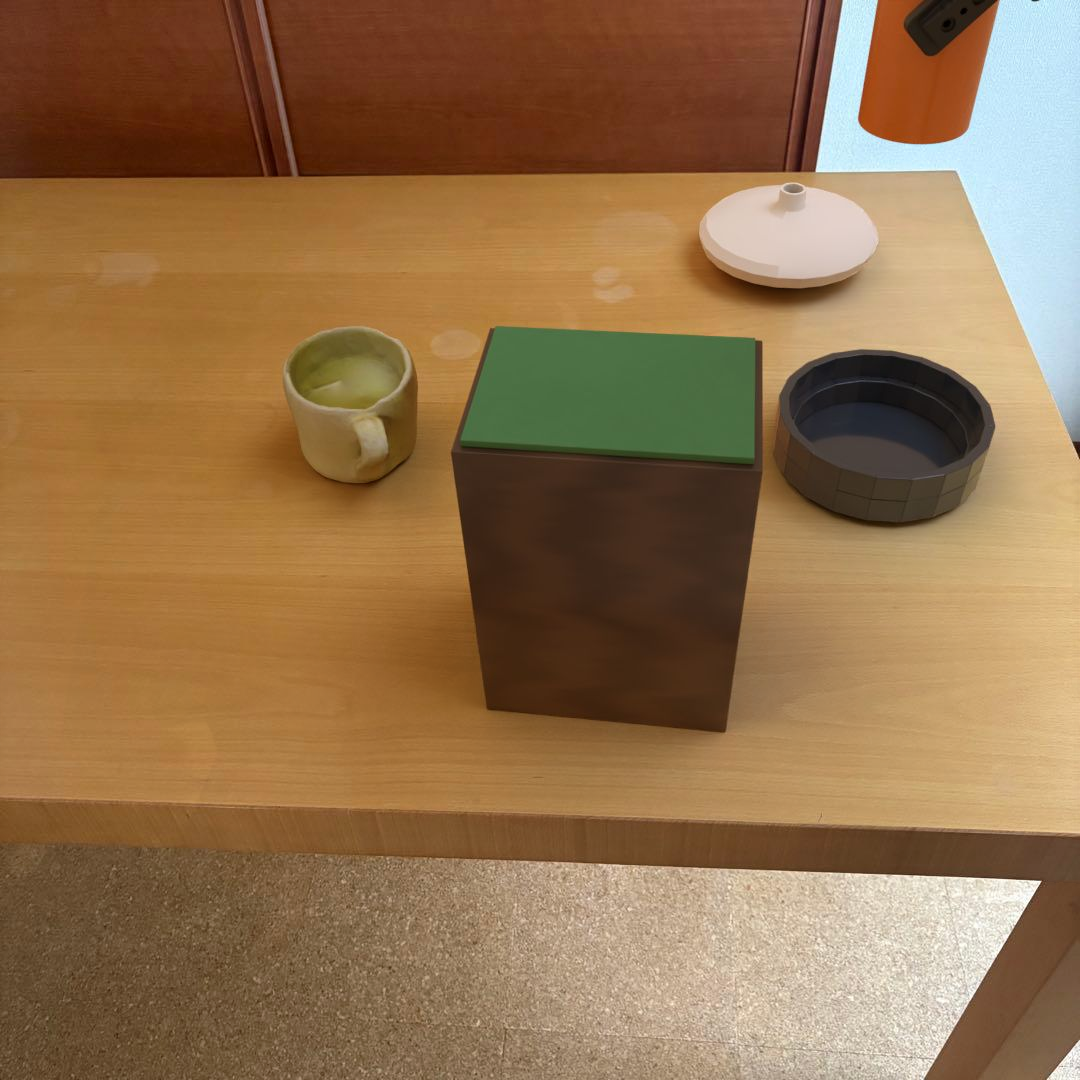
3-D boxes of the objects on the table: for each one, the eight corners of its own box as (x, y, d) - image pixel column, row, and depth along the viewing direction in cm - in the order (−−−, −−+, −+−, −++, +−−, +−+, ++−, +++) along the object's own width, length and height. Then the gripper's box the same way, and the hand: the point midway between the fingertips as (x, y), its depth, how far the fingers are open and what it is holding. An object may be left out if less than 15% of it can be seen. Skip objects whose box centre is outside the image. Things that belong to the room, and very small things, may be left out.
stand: (729, 602, 67) (762, 340, 52) (725, 732, 60) (763, 471, 45) (514, 584, 68) (489, 327, 54) (486, 709, 62) (450, 451, 47)
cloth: (754, 344, 52) (755, 337, 52) (753, 465, 46) (754, 457, 45) (496, 332, 54) (495, 325, 54) (460, 446, 48) (459, 439, 47)
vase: (768, 329, 88) (778, 254, 83) (663, 249, 97) (666, 177, 92) (910, 274, 93) (928, 200, 87) (796, 202, 102) (806, 132, 97)
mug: (274, 394, 81) (287, 300, 73) (403, 408, 84) (430, 319, 76) (271, 523, 74) (286, 433, 67) (412, 532, 77) (442, 448, 70)
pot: (963, 403, 80) (978, 354, 76) (992, 535, 70) (1010, 485, 66) (771, 392, 81) (778, 344, 78) (773, 520, 72) (780, 471, 68)
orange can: (961, 101, 56) (1006, -88, 50) (975, 145, 52) (1026, -53, 46) (854, 99, 57) (885, -87, 51) (861, 143, 53) (895, -53, 47)
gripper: (1130, -402, 46) (819, -80, 54) (1309, -378, 35) (891, 14, 44) (1204, -258, 49) (901, 22, 58) (1385, -199, 39) (985, 131, 48)
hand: (898, 17), depth 51 cm, fingers closed on orange can, 5 cm apart
